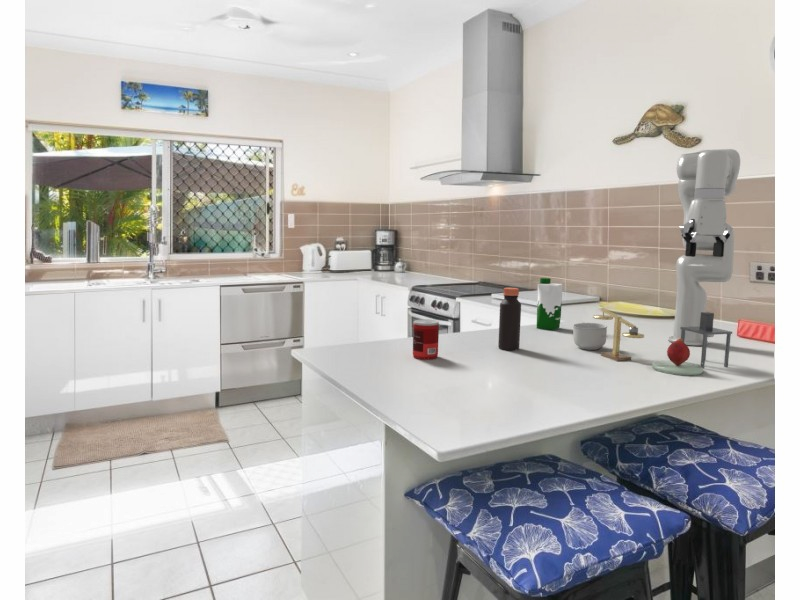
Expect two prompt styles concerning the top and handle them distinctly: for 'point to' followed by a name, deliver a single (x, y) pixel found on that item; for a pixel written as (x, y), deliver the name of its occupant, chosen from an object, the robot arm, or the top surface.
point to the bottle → (509, 320)
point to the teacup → (589, 335)
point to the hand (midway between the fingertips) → (704, 256)
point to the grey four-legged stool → (706, 330)
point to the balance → (618, 335)
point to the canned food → (425, 339)
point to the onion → (678, 352)
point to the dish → (677, 368)
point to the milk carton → (549, 304)
